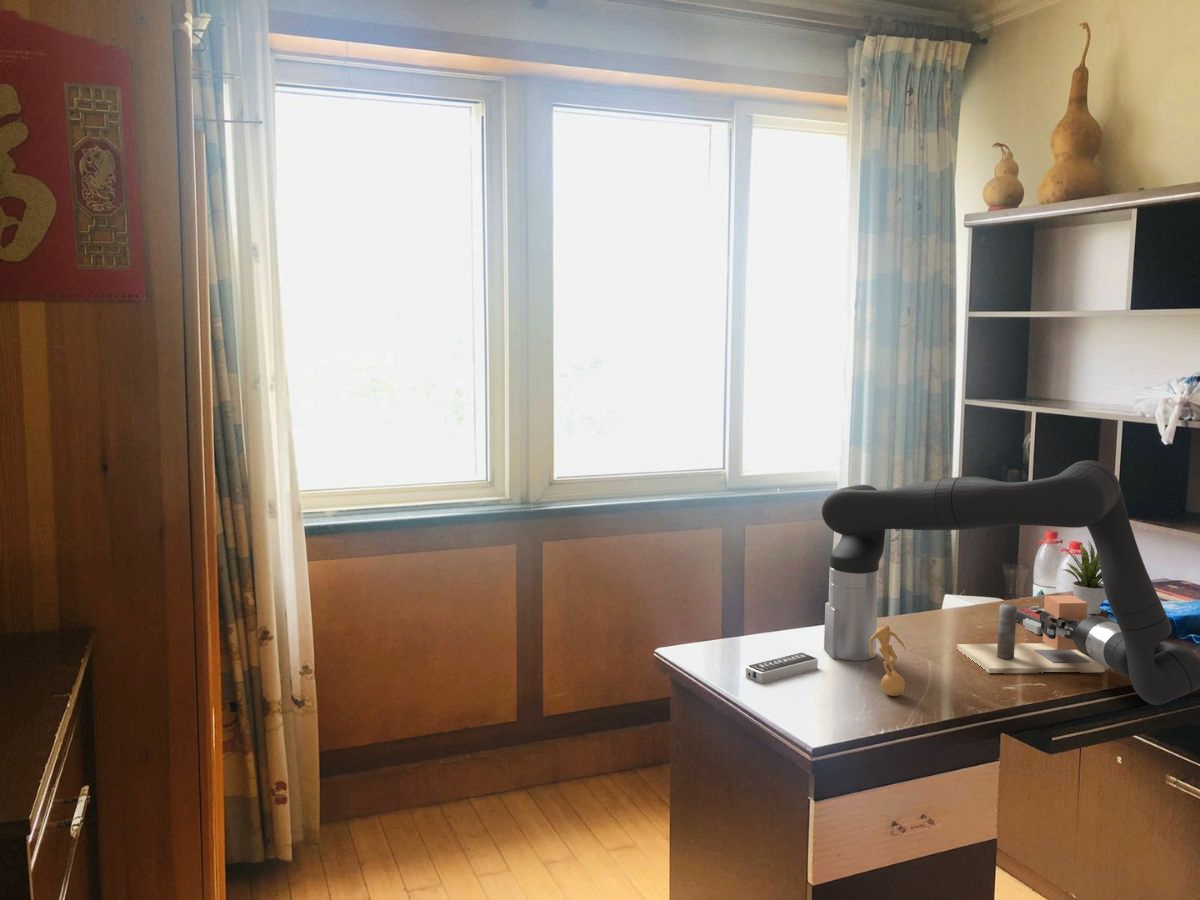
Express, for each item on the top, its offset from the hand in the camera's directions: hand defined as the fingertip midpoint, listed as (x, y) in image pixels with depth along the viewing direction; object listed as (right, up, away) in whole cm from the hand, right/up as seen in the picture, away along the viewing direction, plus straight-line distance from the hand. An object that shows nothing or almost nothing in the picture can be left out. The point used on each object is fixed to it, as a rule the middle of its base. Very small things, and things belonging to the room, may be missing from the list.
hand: (1057, 616), depth 183 cm
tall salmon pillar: (0, -5, -2) cm, 6 cm away
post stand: (-6, -8, -1) cm, 10 cm away
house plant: (+24, -5, +31) cm, 40 cm away
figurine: (-38, -11, -18) cm, 44 cm away
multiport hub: (-55, -10, -7) cm, 56 cm away
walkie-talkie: (+7, -7, +18) cm, 20 cm away
